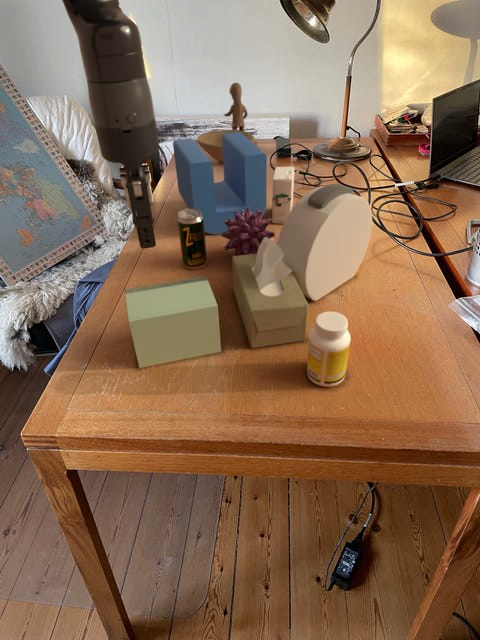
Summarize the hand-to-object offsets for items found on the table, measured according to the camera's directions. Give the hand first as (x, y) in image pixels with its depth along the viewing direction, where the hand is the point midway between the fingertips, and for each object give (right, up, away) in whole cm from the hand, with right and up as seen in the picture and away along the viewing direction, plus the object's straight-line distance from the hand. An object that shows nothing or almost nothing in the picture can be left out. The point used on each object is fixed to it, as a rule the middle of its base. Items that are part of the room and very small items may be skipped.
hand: (145, 232), depth 67 cm
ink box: (+25, +14, +51) cm, 59 cm away
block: (+9, +14, +52) cm, 55 cm away
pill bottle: (+28, -22, +7) cm, 36 cm away
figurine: (+13, +50, +98) cm, 111 cm away
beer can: (+4, 0, +34) cm, 35 cm away
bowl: (+9, +40, +85) cm, 94 cm away
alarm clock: (+31, -5, +27) cm, 41 cm away
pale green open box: (+3, -17, +13) cm, 22 cm away
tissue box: (+19, -12, +19) cm, 30 cm away
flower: (+16, +1, +36) cm, 39 cm away
